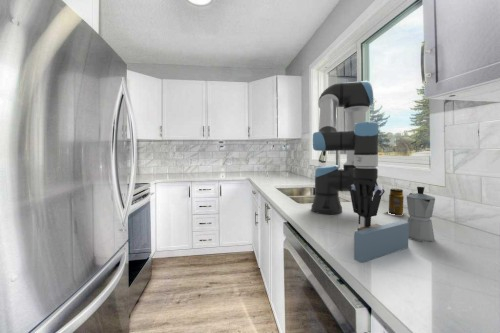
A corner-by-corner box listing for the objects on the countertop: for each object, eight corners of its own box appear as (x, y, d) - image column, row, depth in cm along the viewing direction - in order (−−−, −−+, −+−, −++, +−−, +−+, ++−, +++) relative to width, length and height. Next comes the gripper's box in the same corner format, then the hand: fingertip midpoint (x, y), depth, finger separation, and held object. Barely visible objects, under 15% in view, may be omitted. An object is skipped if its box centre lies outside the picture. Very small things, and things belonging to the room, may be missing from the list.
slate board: (400, 244, 80) (400, 220, 80) (408, 247, 78) (408, 222, 77) (354, 259, 70) (354, 231, 69) (361, 262, 68) (362, 234, 67)
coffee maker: (443, 244, 80) (445, 189, 79) (413, 243, 82) (415, 189, 80) (421, 230, 94) (422, 183, 93) (396, 229, 96) (397, 183, 95)
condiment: (405, 213, 120) (406, 189, 119) (400, 216, 114) (401, 191, 113) (389, 211, 125) (389, 187, 124) (383, 214, 119) (384, 189, 118)
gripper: (342, 166, 89) (341, 231, 90) (375, 168, 77) (374, 242, 78) (356, 166, 92) (355, 227, 93) (390, 167, 81) (389, 238, 82)
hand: (364, 234), depth 86 cm, fingers closed
